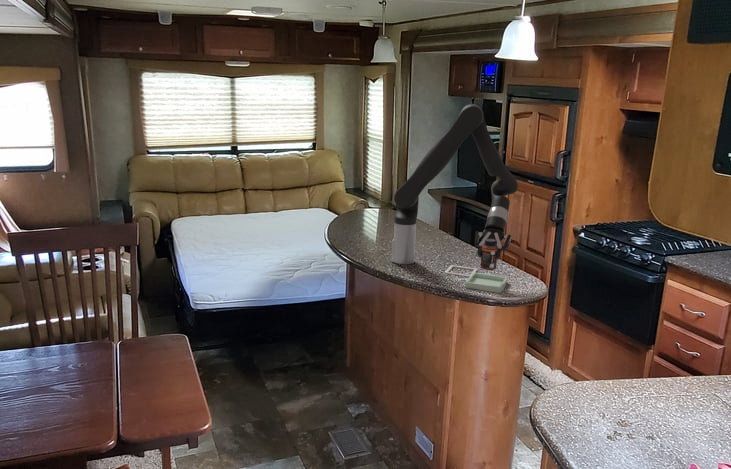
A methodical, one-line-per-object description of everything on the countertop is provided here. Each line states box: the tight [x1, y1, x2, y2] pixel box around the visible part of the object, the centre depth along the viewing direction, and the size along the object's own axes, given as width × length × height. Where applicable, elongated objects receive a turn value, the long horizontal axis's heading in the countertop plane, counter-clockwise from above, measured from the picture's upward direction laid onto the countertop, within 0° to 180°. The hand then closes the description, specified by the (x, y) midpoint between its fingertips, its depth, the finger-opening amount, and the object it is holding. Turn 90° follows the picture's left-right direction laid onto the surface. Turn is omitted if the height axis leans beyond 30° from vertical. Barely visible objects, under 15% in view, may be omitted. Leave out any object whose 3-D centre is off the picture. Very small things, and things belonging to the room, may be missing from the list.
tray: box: [464, 271, 509, 294], centre depth 220 cm, size 14×14×2 cm
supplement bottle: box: [480, 239, 498, 271], centre depth 218 cm, size 6×6×11 cm
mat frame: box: [443, 264, 479, 278], centre depth 236 cm, size 11×11×1 cm
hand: (488, 257), depth 216 cm, fingers closed on supplement bottle, 6 cm apart
